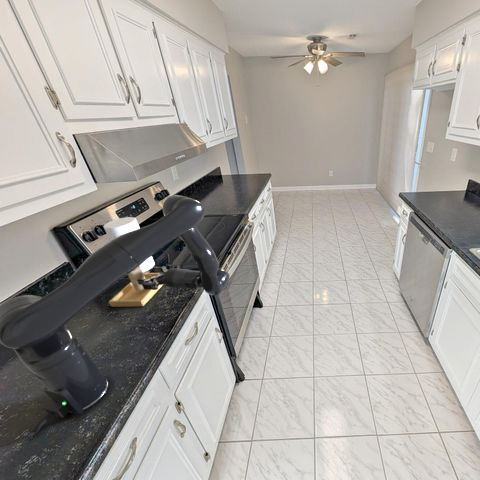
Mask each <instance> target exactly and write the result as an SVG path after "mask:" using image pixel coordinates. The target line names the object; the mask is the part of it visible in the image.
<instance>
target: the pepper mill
mask: <svg viewBox="0 0 480 480" xmlns="http://www.w3.org/2000/svg"><path fill="white" fill-rule="evenodd" d="M143 273H144V272H142V270H141V268H140V266H138V267H137V268H136V269H134V270H133V271H132V272H130V273H129V274H127V275H126V276H127V277H128V279H129V280H130V282H132V284H133V286H134V288H135V290H136V292H137V293H143V292H145V291H147V290H148V289H144V288H143V286H142V285H140V284H138V282H137V280H138V279H145V276H144V274H143Z"/></svg>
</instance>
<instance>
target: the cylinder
mask: <svg viewBox="0 0 480 480" xmlns="http://www.w3.org/2000/svg"><path fill="white" fill-rule="evenodd" d="M140 228H141V227H140V225H139V223H138V221H137V219H136V217H134V216H126V217H119V218H117V219H113V220H111V221H109V222H106V223H105V224H104V225H103V229H104V231H105V233H106V236H107V237H108V239H109V242H110V241H112V240H113V239H115V238H116V237H118V236H120V235H123V234H125V233H128V232H131V231H134V230H137V229H140ZM139 266H140V268H141V270H142V272H143V273H146V272H148V271H149V270H151V269H153V268H154V267H155V266H156V263H155V260H154V258H153V255H152V256H151V257H149V258H148V259H147V260H146V261H144V262H143V263H142V264H141V265H139Z"/></svg>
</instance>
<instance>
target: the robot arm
mask: <svg viewBox="0 0 480 480" xmlns="http://www.w3.org/2000/svg"><path fill="white" fill-rule="evenodd" d="M162 213H163V216H162V217H161V218H160V219H158V220H157V221H155V222H152V223H151V224H148V225H146V226H143V227H140V229H137V230H134V231H131V232H128V233H125V234H123V235H120V236H118V237H116V238H115V239H113V240H112V241H110V240H109V242H107V243H105V244H104V245H102V246H100V247H99V248H97V249H96V250H94V252H92V253H91V254H90V255H89V256H88V257H87V258H86V259H85V260H84V261H83V263H81V264H80V266H79V267H78V268H77V269H76V270H75V272H74V273H73V274H72V275H71V276H70V277H69V278H68V279H67V280H66V281H65V282H64V283H62V284H61V285H60V286H58V287H56V288H55V289H54V290H52V291H51V292H49V293H48V294H46V295H44V296H43V297H42V296H39V295H33V294H27V295H26V294H25V295H19V296H15V297H12V298H10V299H8V300H6V301H4V302H3V303H1V304H0V344H1V345H3V346H4V347H5V348H8V349H12V350H13V351H14V352H15V354H16V355H17V356H18V358H19V359H20V361H21V362H22V364H23V365H24V366H25V367H26V368H27V369H28V370H29V371H30V372H31V373H32V375H34V376H35V378H36V379H37V380H38V381H39V382H40V383H41V384H42V385H43V386H44V387H43V388H42V391H43V392H44V393H45V394H46V395H47V396H48V397H49V398H50V399H51V400H49V401H48V402H47V403H46V404H45V405H44V406H43V407H42V409H43V410H44V411H45V412H46V413H47V415H45V417H44V418H43V419H41V420H40V421H39V423H37V424H36V425H35V427H34V429H33V430H31V431H29V432H28V433H27V435H28V436H29V438H31V437H32V436H34V435H36V434H37V433H38V432H39V431H40V429H41V428H42V426H44V424H46V423H47V422H48V421H49V420H50V419H51V418H52V417H53V416H54V417H57V418H60V419H61V418H62V419H64V418H65V417H66V416H67V415H68V414H71V415H77V416H81V415H83V413H84V412H85V411H87V410H89V409H91V408H93V407H94V406H95V405H96V404H98V403H99V402H100V401H101V400H102V399H103V398H104V397H105V396H106V394H107V393H108V391H109V388H110V382H109V381H108V379H107V378H106V377H105V376H104V374H103V373H102V372H101V370H100V369H99V367H98V366H97V364H95V362H94V360H92V358H91V356H90V355H89V354H88V353H87V351H86V350H85V348H84V347H83V345H82V344H81V343H80V341H79V340H78V339H77V337H76V336H75V334H74V332H73V331H72V330H71V329H70V328H69V326H68V324H67V323H68V322H70V321H71V320H72V319H73V318H74V317H75V316H76V315H78V314H79V312H81V311H82V310H83V309H84V308H85V307H87V306H88V305H89V304H90V303H91V302H93V301H94V300H95V299H97V298H98V297H99V296H100V295H102V294H103V293H105V292H106V291H108V290H109V289H110V288H111V287H112V286H114V285H116V283H118V282H119V281H121V280H122V279H124V278H125V277H126V276H128V275H127V274H129V273H130V272H132V271H133V270H134V269H136V268H137V267H138V266H139V265H141V264H142V263H143V262H144V261H146V260H147V259H148V258H149V257H151V256H152V257H153V256H154V255H156V253H158V252H159V251H161V250H162V249H163V248H165V247H166V246H167V245H169V244H170V243H171V242H173V241H174V240H176V239H178V238H181V240H182V241H183V243H184V244H185V246H186V248H187V249H188V251H189V253H190V254H191V257H192V258H193V261H194V262H195V265H196V266H197V268H198V270H193V269H189V268H180V267H179V265H178V264H171V263H167V264H165V266H164V265H163V266H153V270H154V273H159V274H158V275H157V276H154V277H151V278H150V279H138V280H137V282H138V284H140V285H142V286H143V288H144V289H148V290H157V289H158V286H159V285H162V286H166V287H169V288H178V289H194V290H195V289H196V290H200V289H203V290H204V291H205V293H207V294H208V295H210V296H217V295H220V294H221V293H222V291H223V290H224V288H225V287H226V285H227V284H228V282H229V281H230V274H229V272H228V271H227V270H225V269H223V268H220V263H219V260H218V257H217V256H216V253H215V251H214V249H213V248H212V246H211V245H210V243H209V242H208V241H207V240H206V238H205V237H204V236H203V234H202V233H201V232H200V230H199V229H198V227H197V226H198V225H199V224H200V223H201V222H202V221H203V219H204V217H205V207H204V205H203V203H201V202H200V201H198V200H196V199H194V198H191V197H188V196H184V195H178V194H174V195H170V196H168V197H167V198H166V199H165V200H164V202H163V203H162ZM154 279H156V281H157V282H155V281H154ZM149 281H151V282H152V283H149Z"/></svg>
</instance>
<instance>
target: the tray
mask: <svg viewBox="0 0 480 480" xmlns="http://www.w3.org/2000/svg"><path fill="white" fill-rule="evenodd" d="M159 273H160V272H143V274H144V276H145V279H150V278H151V277H154V276H157V275H158V274H159ZM154 281H155V282H157V281H156V279H154ZM149 283H152V282H151V281H149ZM162 287H163V285H159V286H158V289H157V290H147V291H145V292H143V293H137V292H136V290H135V288H134V286H133V284H132V282H131V281H130V282H129V283H128V284H126V286H124V287H123V288H122V289H121V290H120V291H119V292H117V294H115V295H114V296H113V297H112V298H111V299H109V301H108V303H109V305H110V307H113V308H114V307H115V308H117V307H119V308H120V307H121V308H122V307H144V306H146V304H147V303H148V302H149V301H150V300H151V299H152V298H153V297H154V295H155V294H156V293H157V292H158V291H159V290H160V289H161V288H162Z"/></svg>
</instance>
